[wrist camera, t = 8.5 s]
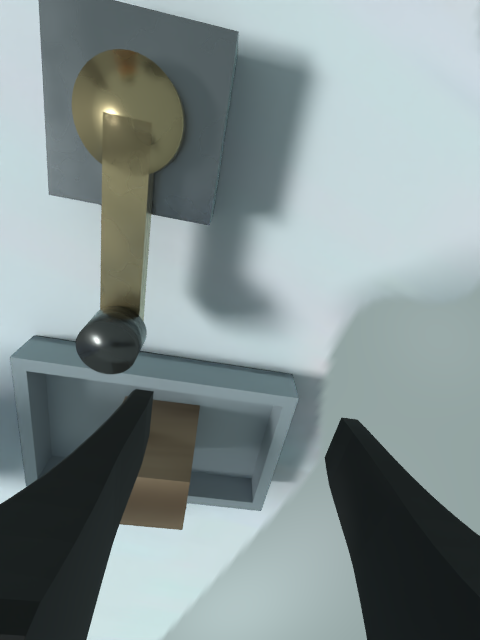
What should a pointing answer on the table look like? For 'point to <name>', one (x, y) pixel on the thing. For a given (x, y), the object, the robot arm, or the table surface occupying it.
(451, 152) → the table surface
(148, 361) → the tray
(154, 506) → the block
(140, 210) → the crank
